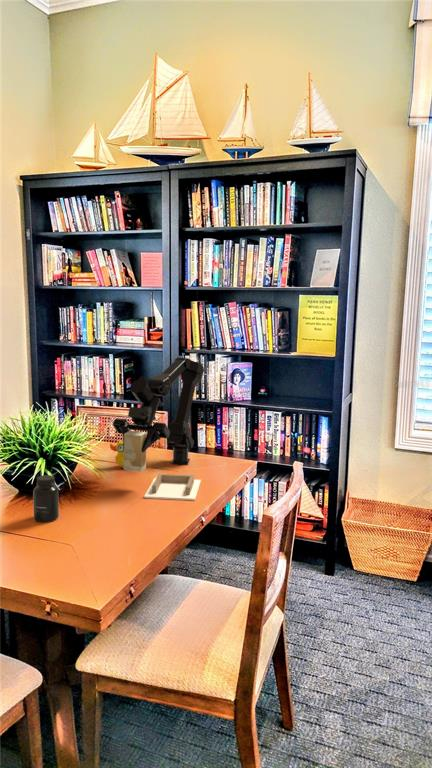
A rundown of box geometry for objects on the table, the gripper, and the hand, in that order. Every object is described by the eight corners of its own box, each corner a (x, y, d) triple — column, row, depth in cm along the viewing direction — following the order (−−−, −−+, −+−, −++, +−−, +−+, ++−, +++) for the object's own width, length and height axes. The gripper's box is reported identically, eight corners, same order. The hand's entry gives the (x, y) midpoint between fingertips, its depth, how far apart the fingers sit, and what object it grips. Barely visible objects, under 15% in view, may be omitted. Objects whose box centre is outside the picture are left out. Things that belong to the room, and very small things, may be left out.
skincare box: (123, 470, 180) (122, 433, 178) (129, 466, 184) (128, 430, 182) (141, 472, 178) (141, 435, 176) (147, 468, 182) (146, 432, 180)
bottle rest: (154, 479, 192) (154, 470, 191) (200, 481, 190) (201, 472, 190) (144, 498, 174) (144, 488, 173) (194, 500, 173) (195, 490, 172)
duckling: (108, 468, 202) (107, 442, 200) (112, 464, 207) (111, 438, 206) (138, 470, 201) (138, 443, 200) (142, 465, 206) (142, 439, 205)
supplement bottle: (36, 524, 152) (34, 483, 150) (31, 516, 158) (30, 475, 156) (61, 520, 155) (60, 479, 153) (56, 512, 161) (55, 472, 159)
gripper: (114, 394, 184) (98, 435, 176) (166, 398, 178) (151, 441, 170) (126, 412, 193) (110, 452, 184) (175, 417, 187) (162, 458, 178)
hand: (133, 450), depth 179 cm, fingers closed on skincare box, 6 cm apart
